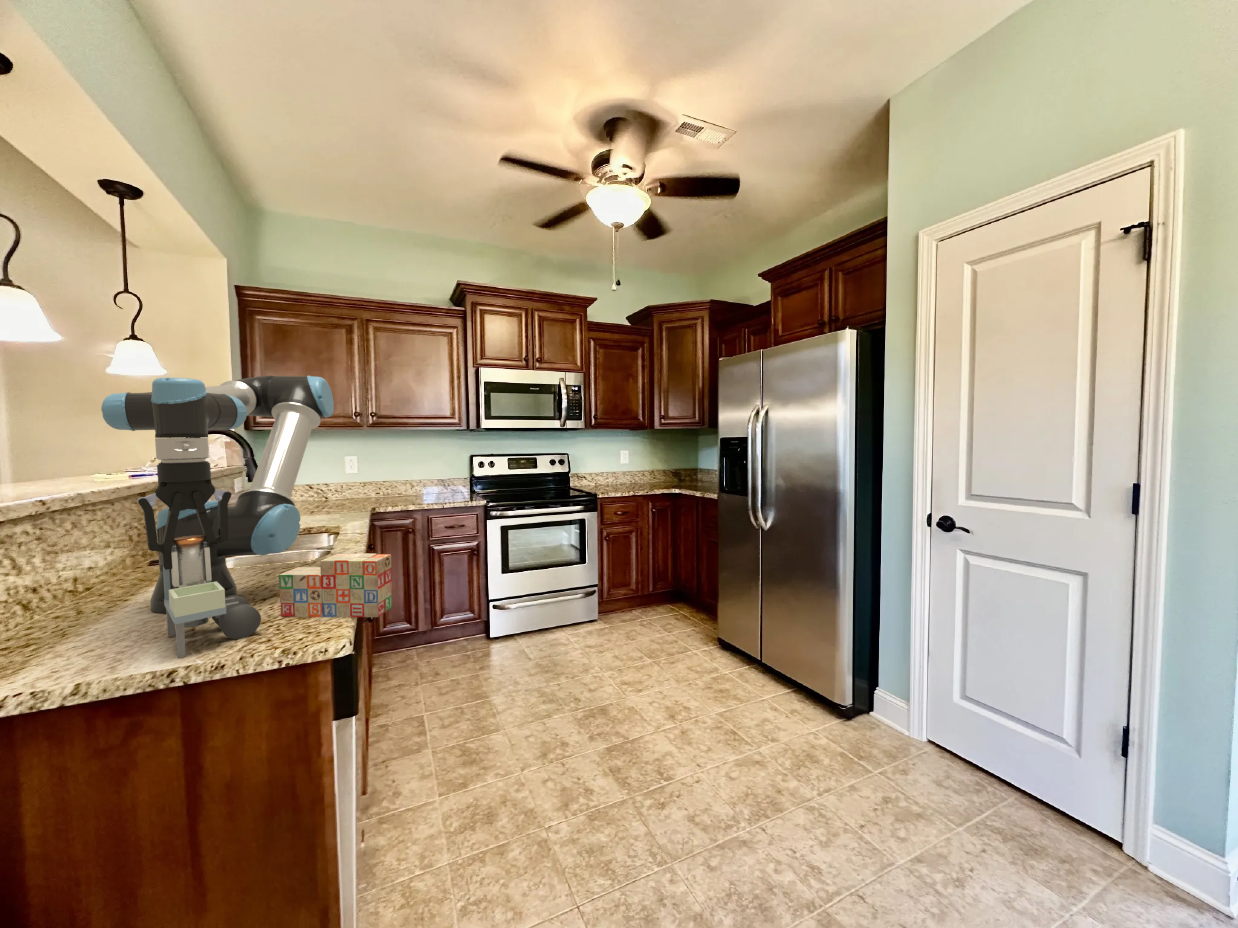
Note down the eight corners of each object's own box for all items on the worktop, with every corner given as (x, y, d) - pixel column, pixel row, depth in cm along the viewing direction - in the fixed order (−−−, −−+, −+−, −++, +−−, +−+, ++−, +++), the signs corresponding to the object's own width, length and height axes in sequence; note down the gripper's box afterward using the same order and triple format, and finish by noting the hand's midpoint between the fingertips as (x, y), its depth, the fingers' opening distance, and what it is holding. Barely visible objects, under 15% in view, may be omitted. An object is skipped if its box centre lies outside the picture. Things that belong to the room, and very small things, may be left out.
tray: (169, 607, 88) (168, 589, 88) (217, 598, 93) (216, 581, 93) (175, 617, 83) (173, 598, 83) (225, 607, 88) (224, 589, 88)
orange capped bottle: (177, 623, 94) (171, 538, 93) (208, 617, 97) (202, 534, 96) (180, 630, 91) (174, 541, 89) (212, 622, 94) (206, 537, 93)
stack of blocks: (279, 617, 103) (277, 560, 102) (299, 607, 109) (297, 553, 109) (378, 617, 102) (376, 560, 102) (393, 607, 109) (391, 553, 108)
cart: (166, 635, 93) (161, 547, 93) (246, 617, 103) (242, 537, 102) (176, 658, 83) (170, 559, 83) (264, 636, 93) (260, 547, 92)
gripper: (120, 464, 83) (130, 598, 84) (244, 459, 96) (251, 575, 97) (118, 462, 88) (128, 588, 89) (236, 458, 101) (242, 569, 102)
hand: (192, 581), depth 93 cm, fingers closed on orange capped bottle, 4 cm apart
